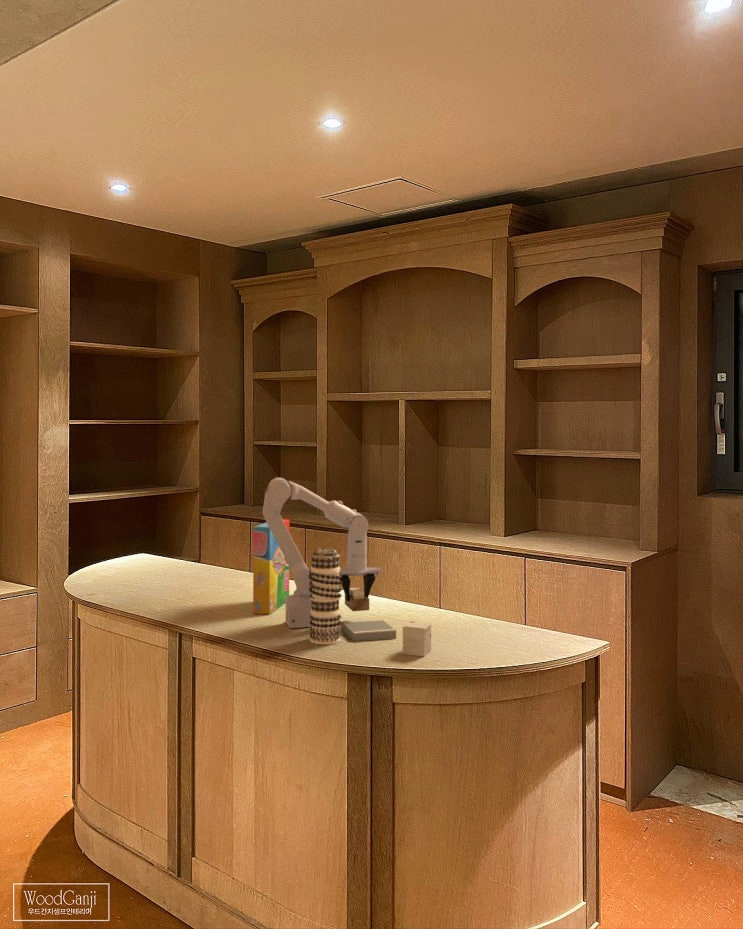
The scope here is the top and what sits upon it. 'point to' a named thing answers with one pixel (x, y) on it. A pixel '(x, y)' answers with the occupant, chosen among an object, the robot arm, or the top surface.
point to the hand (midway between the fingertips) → (356, 599)
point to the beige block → (356, 593)
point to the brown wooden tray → (358, 604)
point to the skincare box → (417, 638)
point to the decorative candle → (325, 597)
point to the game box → (268, 571)
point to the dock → (369, 630)
